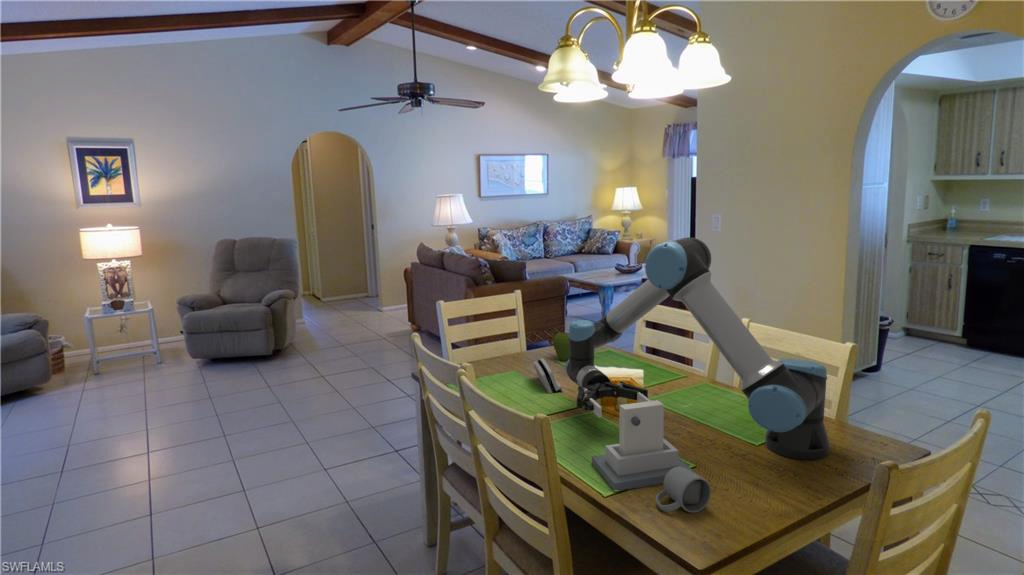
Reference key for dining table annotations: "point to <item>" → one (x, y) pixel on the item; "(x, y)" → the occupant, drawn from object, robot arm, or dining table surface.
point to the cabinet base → (637, 466)
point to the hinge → (546, 376)
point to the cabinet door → (641, 428)
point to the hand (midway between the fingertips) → (625, 409)
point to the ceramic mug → (684, 490)
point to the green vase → (562, 345)
